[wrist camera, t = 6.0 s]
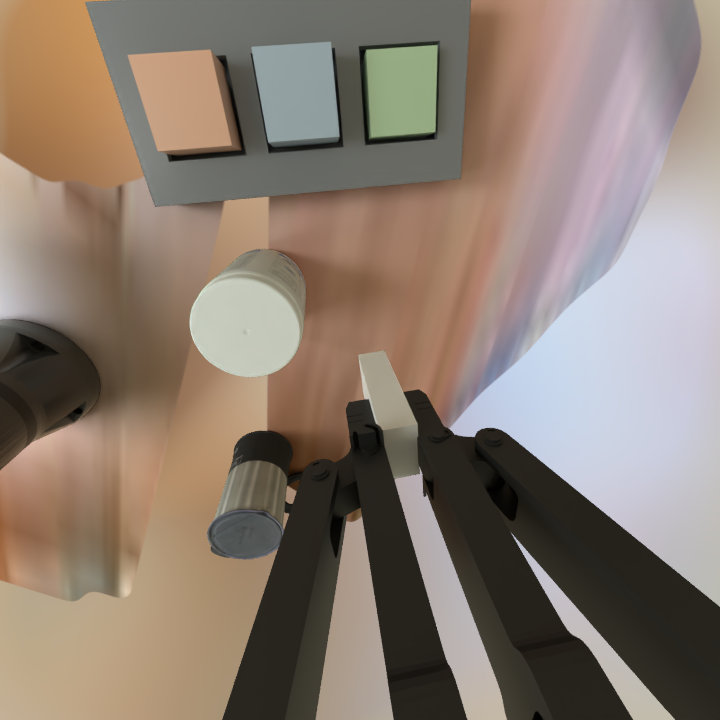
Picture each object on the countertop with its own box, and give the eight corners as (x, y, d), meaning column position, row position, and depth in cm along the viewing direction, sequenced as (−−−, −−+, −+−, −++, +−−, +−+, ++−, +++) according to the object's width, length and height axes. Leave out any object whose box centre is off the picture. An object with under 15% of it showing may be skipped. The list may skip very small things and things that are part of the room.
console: (175, 204, 35) (155, 206, 31) (120, 30, 29) (84, 2, 24) (443, 180, 37) (460, 178, 33) (450, 10, 31) (472, -20, 26)
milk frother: (240, 423, 50) (212, 506, 37) (338, 443, 54) (344, 524, 41) (224, 487, 55) (195, 579, 42) (314, 501, 59) (312, 588, 46)
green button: (365, 143, 33) (371, 137, 30) (360, 66, 30) (366, 49, 27) (423, 138, 33) (435, 131, 30) (423, 61, 31) (437, 44, 27)
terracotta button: (176, 155, 30) (157, 151, 27) (152, 72, 27) (127, 54, 24) (242, 150, 31) (231, 145, 27) (224, 67, 28) (210, 49, 24)
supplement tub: (231, 320, 42) (191, 378, 29) (225, 243, 38) (175, 271, 25) (306, 324, 43) (301, 382, 30) (309, 251, 39) (304, 281, 26)
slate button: (274, 147, 31) (268, 142, 27) (259, 64, 28) (251, 46, 24) (337, 142, 31) (339, 136, 28) (329, 60, 28) (330, 41, 25)
